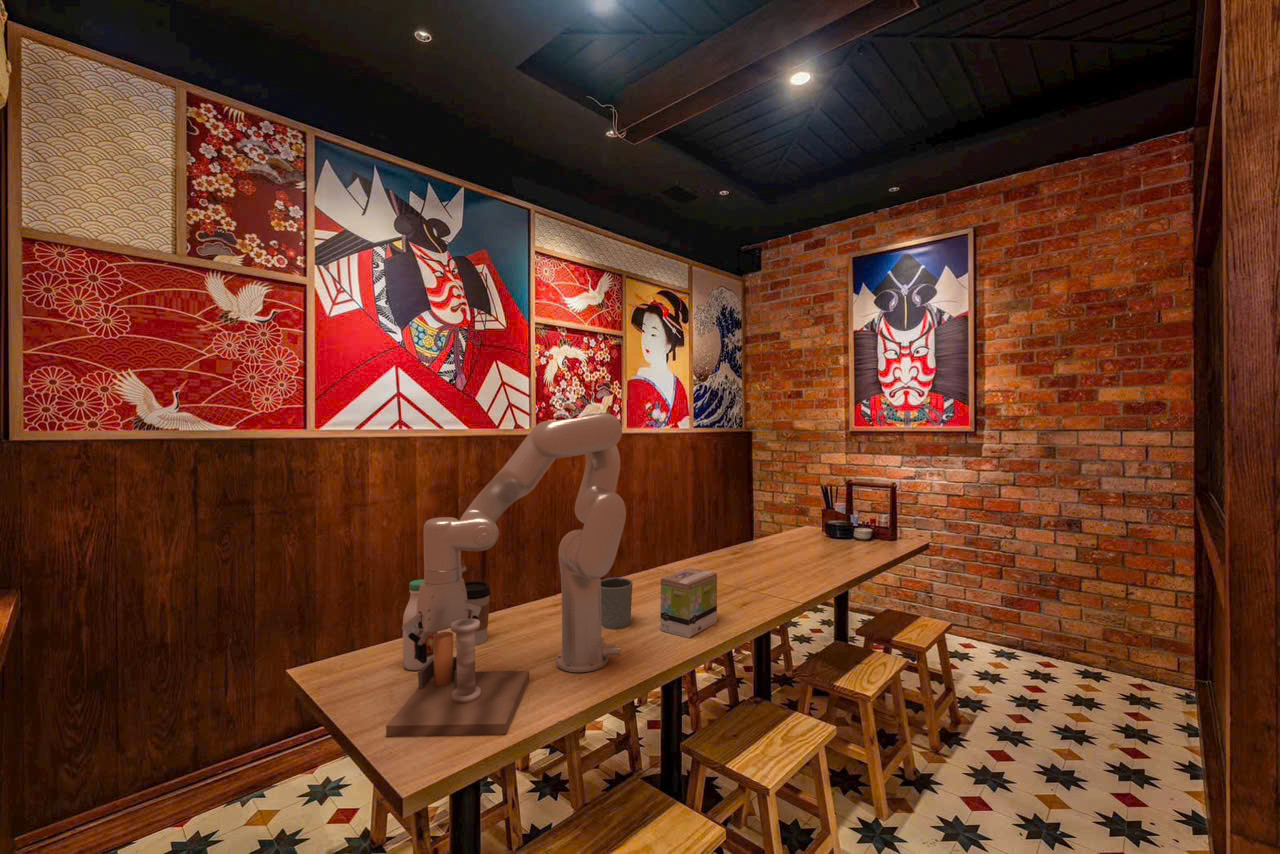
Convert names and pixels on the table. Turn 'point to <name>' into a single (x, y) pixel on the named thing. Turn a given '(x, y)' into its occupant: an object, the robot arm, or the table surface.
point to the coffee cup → (480, 597)
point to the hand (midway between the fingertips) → (443, 654)
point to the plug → (443, 658)
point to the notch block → (428, 672)
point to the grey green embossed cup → (616, 602)
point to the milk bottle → (414, 631)
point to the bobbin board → (462, 697)
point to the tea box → (688, 602)
